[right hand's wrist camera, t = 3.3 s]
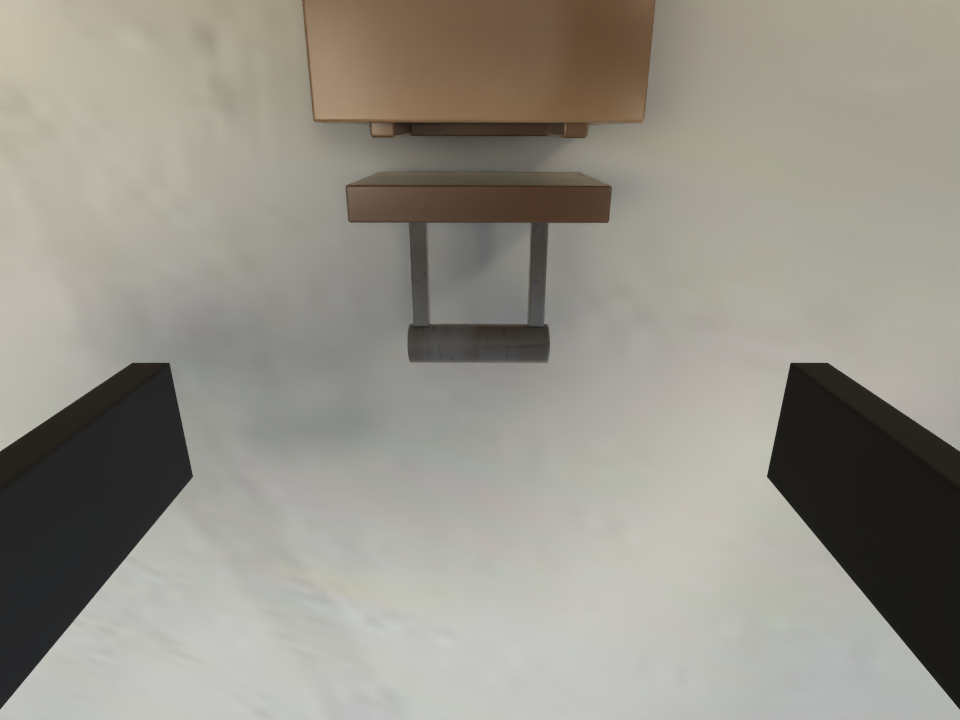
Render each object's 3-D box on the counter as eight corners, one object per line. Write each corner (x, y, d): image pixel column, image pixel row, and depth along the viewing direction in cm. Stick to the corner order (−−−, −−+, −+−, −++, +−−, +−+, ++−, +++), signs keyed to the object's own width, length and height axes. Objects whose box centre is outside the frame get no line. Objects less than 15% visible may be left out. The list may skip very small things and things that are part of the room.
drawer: (571, 324, 28) (596, 378, 22) (386, 323, 28) (360, 378, 22) (615, -397, 19) (680, -650, 13) (344, -398, 19) (279, -650, 13)
